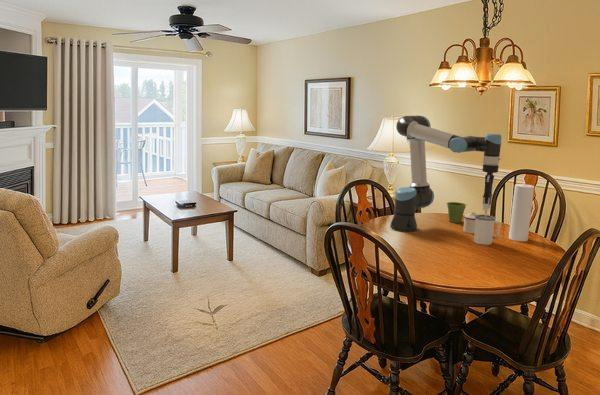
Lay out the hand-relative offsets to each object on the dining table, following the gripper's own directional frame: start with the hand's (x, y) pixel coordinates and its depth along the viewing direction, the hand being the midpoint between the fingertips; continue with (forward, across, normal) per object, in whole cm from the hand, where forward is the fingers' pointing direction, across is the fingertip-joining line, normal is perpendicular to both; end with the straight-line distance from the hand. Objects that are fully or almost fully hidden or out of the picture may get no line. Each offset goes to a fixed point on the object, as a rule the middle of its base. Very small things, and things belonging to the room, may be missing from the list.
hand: (486, 208), depth 243 cm
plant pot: (+18, +37, +21) cm, 46 cm away
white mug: (+18, 0, -1) cm, 18 cm away
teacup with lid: (+18, +19, +9) cm, 28 cm away
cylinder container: (+18, +17, -16) cm, 30 cm away
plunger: (+13, 0, 0) cm, 13 cm away
